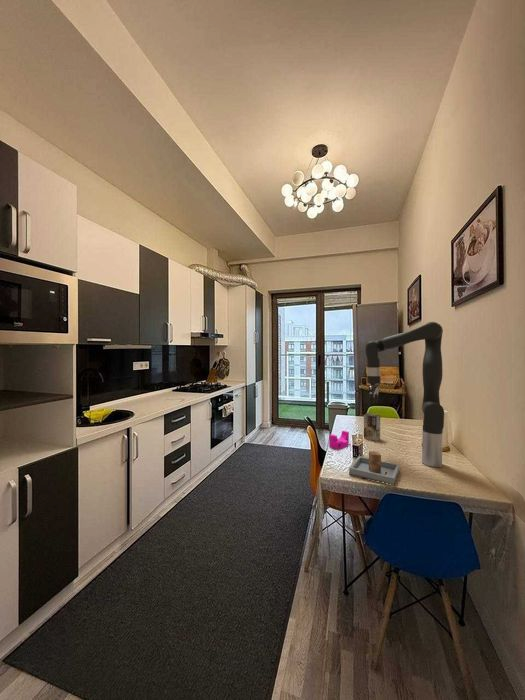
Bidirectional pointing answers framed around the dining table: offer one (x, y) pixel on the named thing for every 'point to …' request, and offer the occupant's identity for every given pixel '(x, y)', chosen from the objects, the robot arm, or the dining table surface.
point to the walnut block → (374, 462)
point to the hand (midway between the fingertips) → (374, 402)
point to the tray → (362, 470)
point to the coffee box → (372, 426)
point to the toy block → (339, 440)
